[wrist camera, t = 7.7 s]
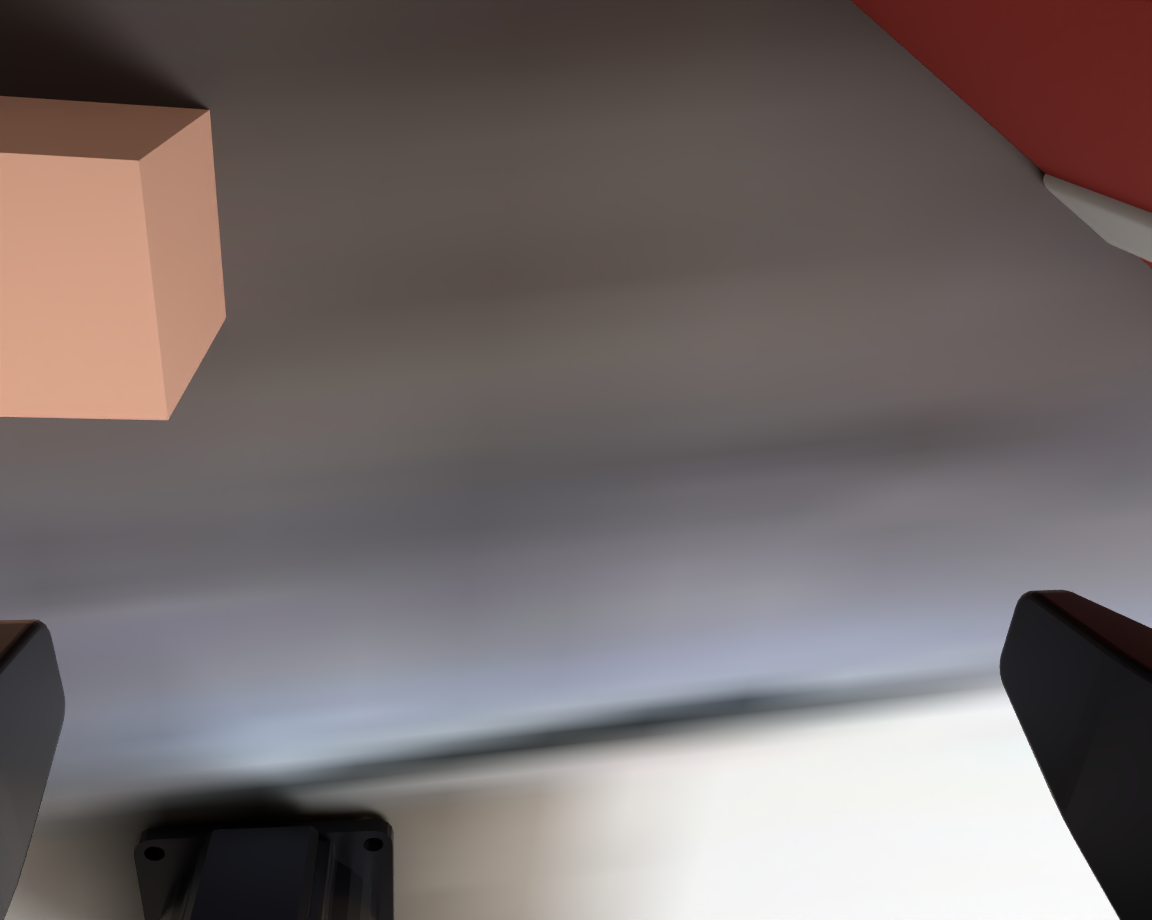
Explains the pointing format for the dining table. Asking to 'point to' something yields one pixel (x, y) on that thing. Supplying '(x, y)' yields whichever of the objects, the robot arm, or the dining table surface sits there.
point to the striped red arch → (1052, 92)
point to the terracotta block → (105, 257)
